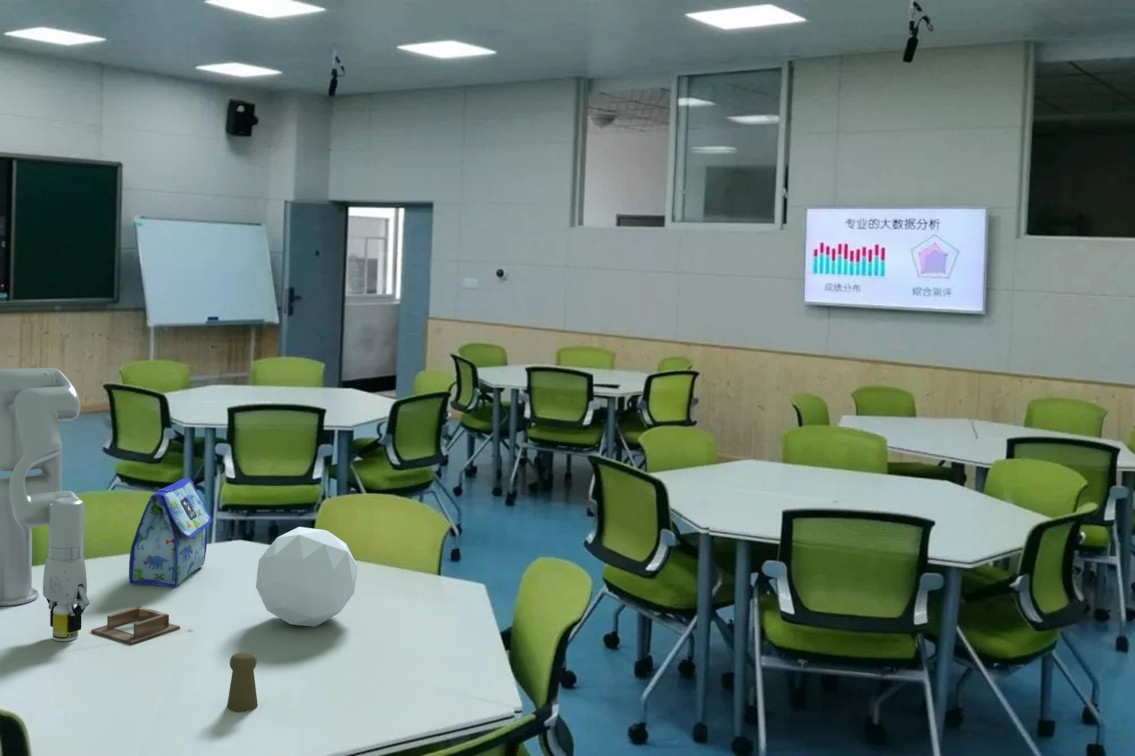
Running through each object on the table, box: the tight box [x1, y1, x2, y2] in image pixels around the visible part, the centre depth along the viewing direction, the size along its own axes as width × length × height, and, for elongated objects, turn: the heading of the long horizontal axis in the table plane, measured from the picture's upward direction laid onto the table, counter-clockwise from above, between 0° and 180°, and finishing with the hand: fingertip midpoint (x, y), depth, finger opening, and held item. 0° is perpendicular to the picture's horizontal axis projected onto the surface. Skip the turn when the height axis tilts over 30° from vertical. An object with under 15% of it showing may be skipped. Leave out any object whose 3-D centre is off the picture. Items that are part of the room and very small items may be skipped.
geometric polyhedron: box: [255, 526, 358, 627], centre depth 273 cm, size 24×25×25 cm
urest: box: [90, 605, 181, 646], centre depth 262 cm, size 14×14×4 cm
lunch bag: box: [128, 477, 213, 589], centre depth 304 cm, size 22×17×26 cm
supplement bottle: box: [52, 599, 79, 642], centre depth 254 cm, size 5×5×10 cm
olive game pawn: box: [226, 651, 259, 713], centre depth 222 cm, size 6×6×11 cm
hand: (65, 627), depth 254 cm, fingers closed on supplement bottle, 5 cm apart
